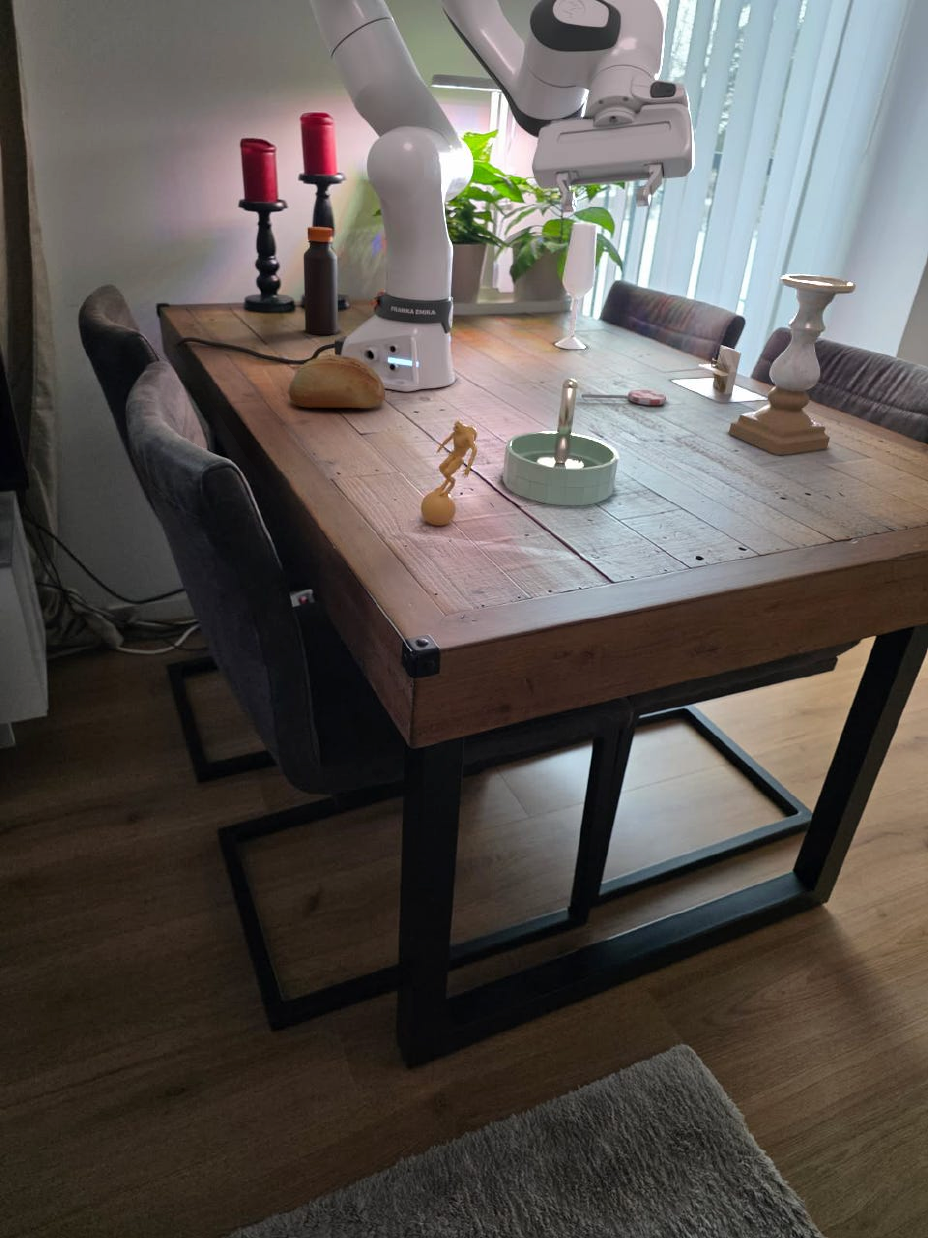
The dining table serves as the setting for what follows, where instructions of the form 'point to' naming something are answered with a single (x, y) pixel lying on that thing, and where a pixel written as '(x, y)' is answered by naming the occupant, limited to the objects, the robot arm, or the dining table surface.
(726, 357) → the architectural model
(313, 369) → the bread roll
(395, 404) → the dining table surface
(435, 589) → the dining table surface
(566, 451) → the meat pounder
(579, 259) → the champagne flute
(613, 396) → the lollipop
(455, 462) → the figurine
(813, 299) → the candle holder
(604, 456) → the bowl
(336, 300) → the bottle
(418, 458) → the dining table surface
